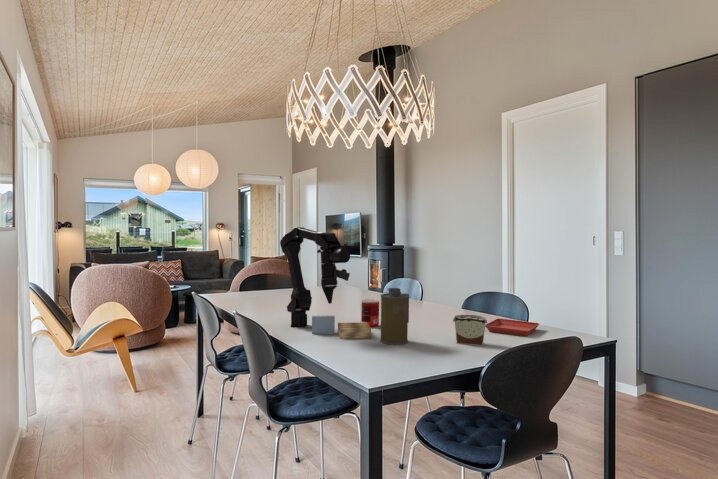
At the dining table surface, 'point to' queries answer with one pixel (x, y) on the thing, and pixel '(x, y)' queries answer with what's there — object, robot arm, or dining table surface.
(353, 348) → the dining table surface
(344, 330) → the rack
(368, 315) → the canned food
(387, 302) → the canister
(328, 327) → the blue-grey flat block
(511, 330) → the plant saucer
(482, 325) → the food container
